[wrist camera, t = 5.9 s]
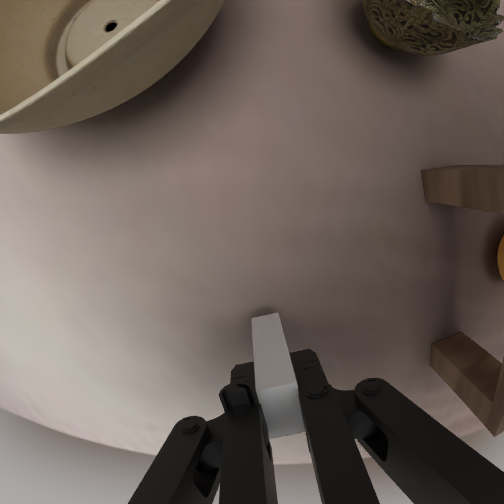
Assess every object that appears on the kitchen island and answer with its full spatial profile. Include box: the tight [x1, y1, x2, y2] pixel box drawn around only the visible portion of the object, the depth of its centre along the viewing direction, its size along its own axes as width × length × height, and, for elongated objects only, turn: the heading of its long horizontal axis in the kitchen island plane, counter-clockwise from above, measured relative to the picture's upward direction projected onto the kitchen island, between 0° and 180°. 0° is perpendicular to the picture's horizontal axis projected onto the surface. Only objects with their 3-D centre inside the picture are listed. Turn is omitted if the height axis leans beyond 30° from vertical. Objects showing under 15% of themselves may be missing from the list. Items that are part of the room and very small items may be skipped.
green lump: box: [362, 0, 504, 55], centre depth 11 cm, size 8×7×8 cm
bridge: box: [421, 165, 504, 437], centre depth 14 cm, size 3×14×9 cm, turn 13°
